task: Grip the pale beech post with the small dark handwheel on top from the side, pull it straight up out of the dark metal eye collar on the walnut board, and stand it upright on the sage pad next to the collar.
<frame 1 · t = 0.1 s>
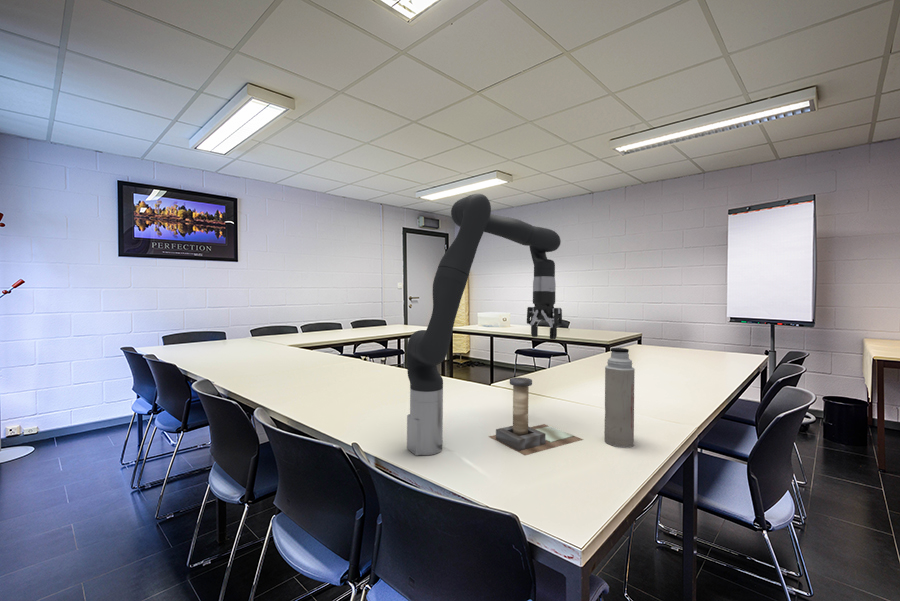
hand: (543, 337, 131), 29 cm above the table, tool pointing down, fingers open, 8 cm apart
thermos bottle: (618, 443, 115), on the table
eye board: (535, 441, 115), on the table
wheel post: (520, 441, 112), point 1 cm above the table, touching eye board
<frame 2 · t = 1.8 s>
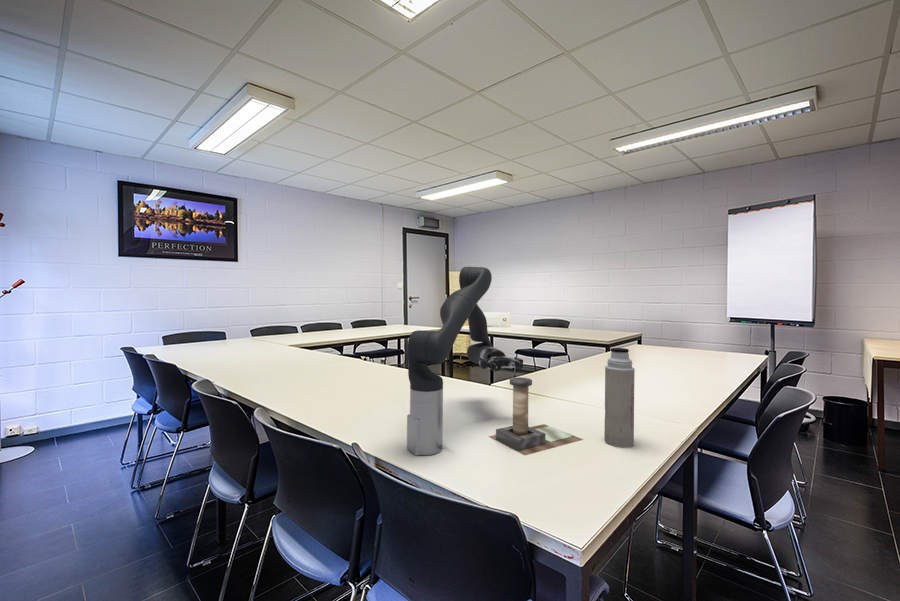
hand: (507, 366, 123), 21 cm above the table, tool horizontal, fingers open, 8 cm apart
nothing on the table moved.
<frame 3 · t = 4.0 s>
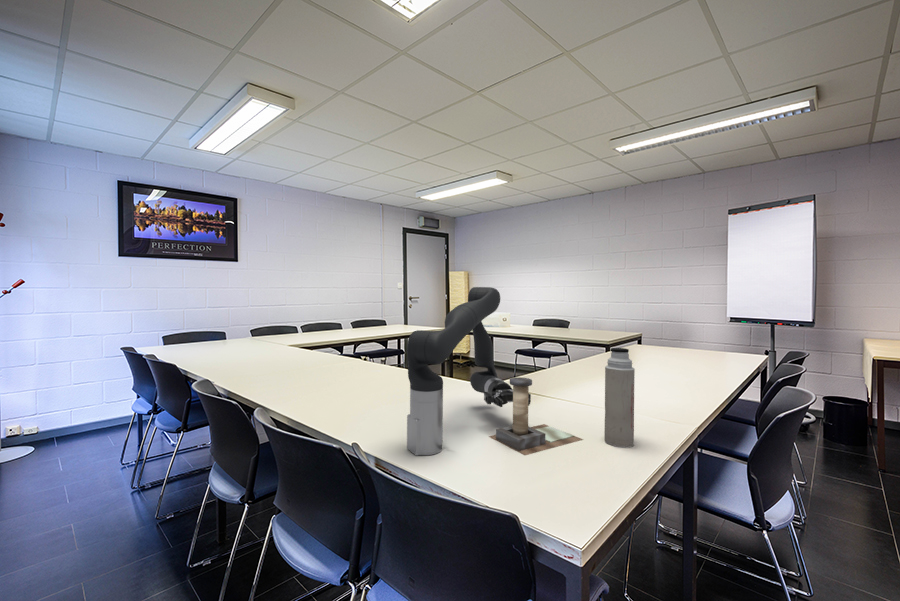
hand: (515, 403, 116), 11 cm above the table, tool horizontal, fingers open, 8 cm apart
nothing on the table moved.
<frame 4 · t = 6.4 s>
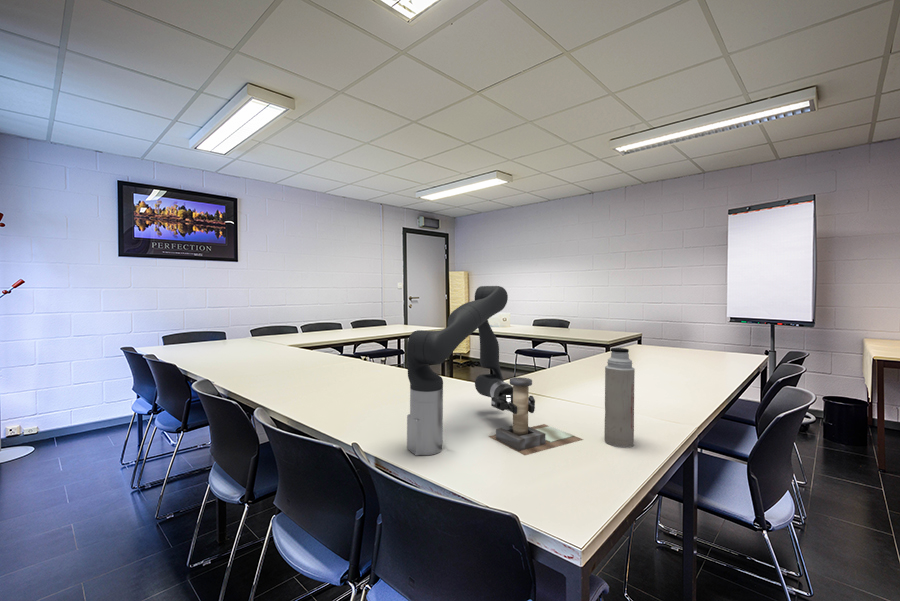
hand: (524, 409, 109), 11 cm above the table, tool horizontal, fingers closed on wheel post, 4 cm apart
wheel post: (520, 441, 112), point 1 cm above the table, touching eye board, gripper
everything else where it was.
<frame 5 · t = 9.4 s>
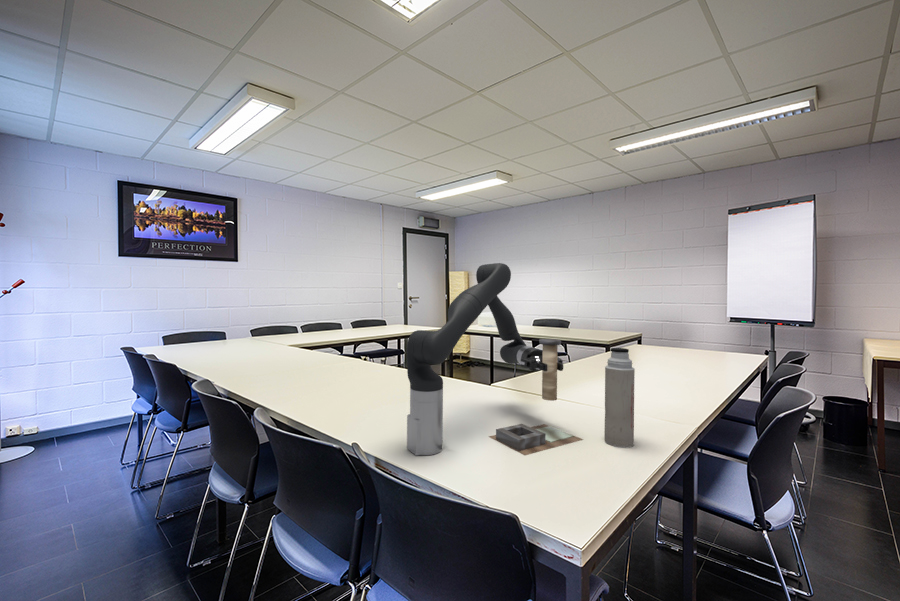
hand: (554, 367, 115), 22 cm above the table, tool horizontal, fingers closed on wheel post, 4 cm apart
wheel post: (549, 398, 118), point 12 cm above the table, touching gripper
everything else where it was.
when the fingers open (13 cm above the table, at t = 12.5 s): wheel post drops 1 cm, resting on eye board.
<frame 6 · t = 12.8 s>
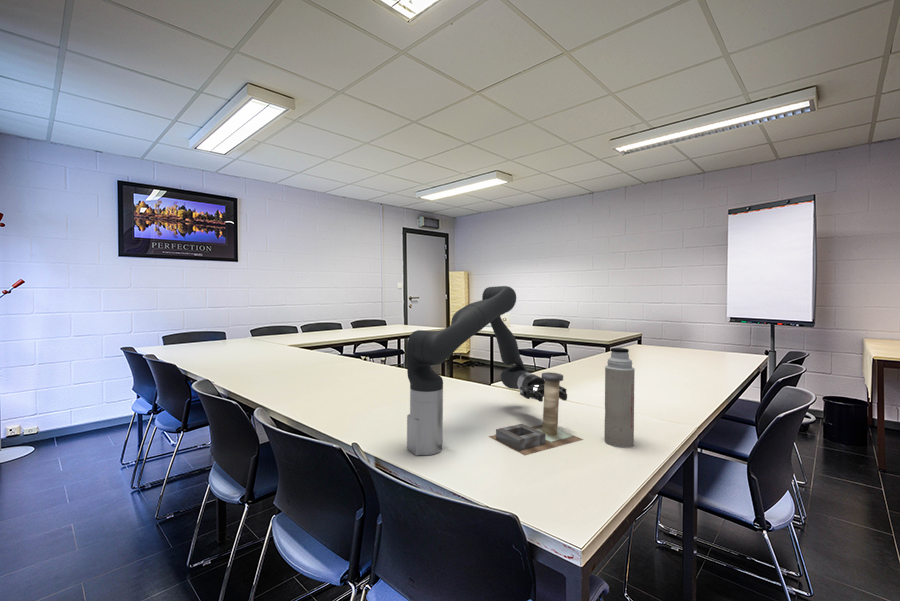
hand: (553, 397, 116), 13 cm above the table, tool horizontal, fingers open, 7 cm apart
wheel post: (549, 433, 118), point 1 cm above the table, touching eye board
everything else where it was.
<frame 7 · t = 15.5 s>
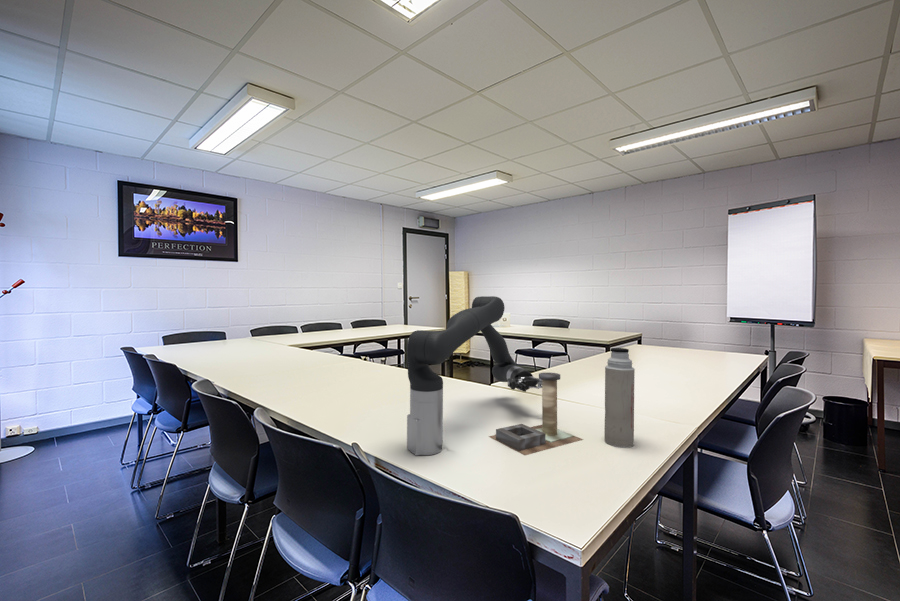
hand: (537, 388, 127), 13 cm above the table, tool horizontal, fingers open, 8 cm apart
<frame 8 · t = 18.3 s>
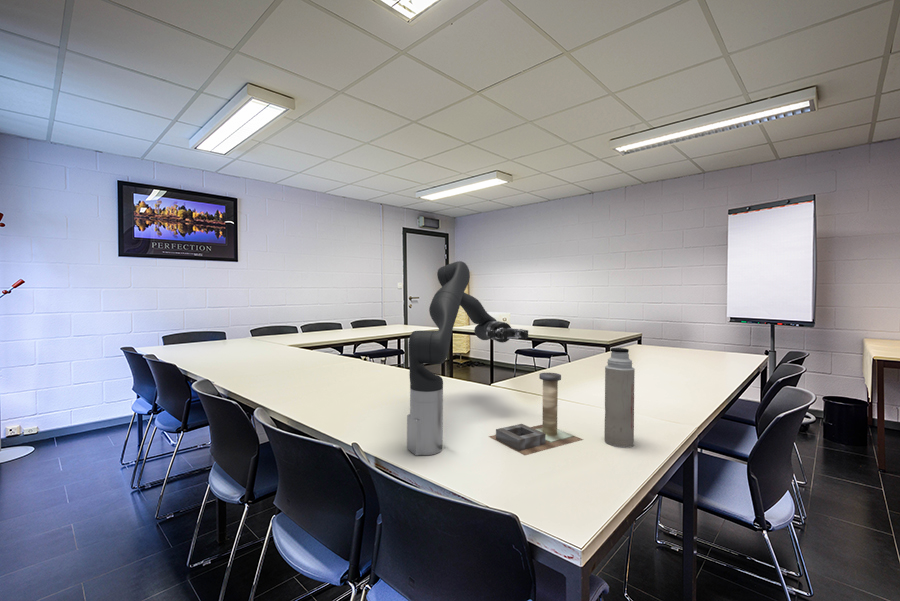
hand: (514, 335, 130), 30 cm above the table, tool horizontal, fingers open, 8 cm apart
nothing on the table moved.
at the end: wheel post inside the target area on the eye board (0.1 cm from its centre), point 1.3 cm above the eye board's base; wheel post tilted 1°; the gripper is holding nothing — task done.
